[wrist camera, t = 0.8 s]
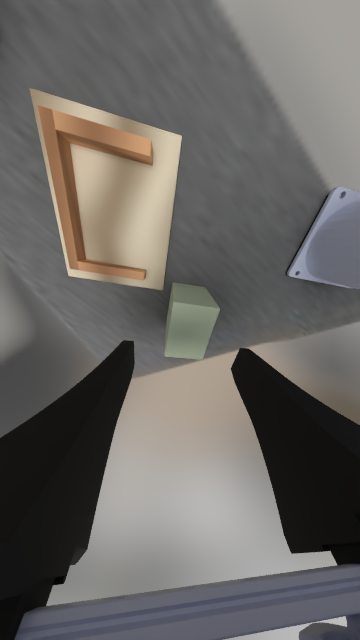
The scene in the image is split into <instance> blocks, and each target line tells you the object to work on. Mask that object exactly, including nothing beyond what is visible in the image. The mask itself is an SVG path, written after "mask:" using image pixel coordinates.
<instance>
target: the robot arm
mask: <svg viewBox="0 0 360 640" xmlns="http://www.w3.org/2000/svg"><path fill="white" fill-rule="evenodd" d="M340 194H341V197H340ZM296 272H297V273H296ZM295 273H296V274H295ZM287 275H288V276H290V277H294V278H299V279H305V280H310V281H315V282H320V283H325V284H331V285H336V286H341V287H346V288H355V289H359V290H360V192H358V191H355V190H352V189H348V188H345V187H342V186H340V187H336V188H334V189H333V190H332V191H331V192H330V194H329V196H328V198H327V200H326V201H325V203H324V205H323V207H322V209H321V211H320V213H319V214H318V216H317V218H316V220H315V222H314V224H313V225H312V227H311V229H310V231H309V233H308V235H307V237H306V238H305V240H304V242H303V244H302V246H301V248H300V250H299V251H298V253H297V255H296V257H295V259H294V261H293V262H292V264H291V266H290V268H289V270H288V272H287ZM134 364H135V362H134V341H126V340H124V341H122V342H121V343H120V344H119V345H118V347H117V348H116V349H115V350H114V351H113V352H112V353H111V354H110V355H109V356H108V357H107V358H106V359H105V360H104V361H103V362H101V364H100V365H98V367H96V368H95V369H94V370H93V371H92V372H91V373H89V374H88V375H87V376H86V377H85V378H84V379H83V380H81V381H80V382H79V383H78V384H77V385H75V386H74V387H73V388H71V389H70V390H69V391H68V392H66V393H65V394H64V395H63V396H61V397H60V398H58V399H57V400H56V401H54V402H53V403H52V404H50V405H49V406H47V407H46V408H45V409H43V410H42V411H40V412H39V413H38V414H36V415H35V416H33V417H32V418H30V419H29V420H27V421H26V422H24V423H23V424H21V425H20V426H18V427H17V428H15V429H14V430H12V431H11V432H9V433H7V434H6V435H4V436H3V437H1V438H0V640H222V639H227V638H232V637H238V636H243V635H249V634H253V633H259V632H264V631H269V630H275V629H280V628H285V627H290V626H296V625H301V624H306V623H311V622H316V621H322V620H327V619H332V618H338V617H343V616H346V619H347V627H345V626H340V625H335V624H329V623H313V624H310V625H309V626H308V627H306V628H305V629H303V630H302V631H300V632H299V640H360V425H358V424H356V423H355V422H353V421H351V420H350V419H348V418H346V417H344V416H343V415H341V414H339V413H337V412H336V411H334V410H333V409H331V408H330V407H328V406H326V405H325V404H323V403H322V402H320V401H319V400H317V399H315V398H314V397H312V396H311V395H310V394H308V393H307V392H305V391H304V390H302V389H301V388H299V387H298V386H297V385H295V384H294V383H292V382H291V381H290V380H288V379H287V378H285V377H284V376H283V375H282V374H281V373H279V372H278V371H277V370H275V369H274V368H273V367H272V366H270V365H269V364H268V363H267V362H265V361H264V360H263V359H262V358H260V357H259V356H258V355H256V354H255V353H254V352H252V351H251V350H250V349H246V348H240V350H239V352H238V354H237V356H236V358H235V361H234V363H233V365H232V367H231V371H232V374H233V378H234V381H235V384H236V386H237V389H238V391H239V393H240V396H241V398H242V400H243V402H244V405H245V407H246V409H247V411H248V414H249V416H250V418H251V421H252V423H253V426H254V429H255V432H256V435H257V437H258V440H259V443H260V447H261V450H262V453H263V456H264V460H265V463H266V466H267V469H268V473H269V477H270V480H271V484H272V488H273V491H274V495H275V499H276V503H277V507H278V511H279V515H280V519H281V524H282V528H283V533H284V536H285V539H286V541H287V544H288V546H289V549H290V551H291V553H292V554H293V553H308V552H323V551H331V553H332V555H333V557H334V559H335V561H336V563H337V566H330V567H323V568H316V569H309V570H301V571H294V572H287V573H280V574H273V575H266V576H259V577H251V578H244V579H237V580H230V581H223V582H216V583H209V584H201V585H195V586H187V587H180V588H173V589H166V590H159V591H152V592H144V593H138V594H130V595H123V596H116V597H109V598H102V599H94V600H87V601H81V602H74V603H67V604H59V605H51V606H46V604H47V601H48V598H49V595H50V592H51V589H52V586H53V585H58V584H64V582H65V579H66V576H67V573H68V570H69V566H70V565H75V564H76V563H77V562H78V561H79V560H80V558H81V557H82V556H83V554H84V553H85V552H86V550H87V548H88V543H89V538H90V534H91V529H92V524H93V520H94V515H95V511H96V506H97V501H98V497H99V493H100V489H101V484H102V480H103V476H104V471H105V467H106V463H107V459H108V455H109V450H110V446H111V442H112V438H113V434H114V430H115V427H116V423H117V420H118V417H119V414H120V411H121V408H122V405H123V402H124V399H125V396H126V393H127V390H128V387H129V384H130V381H131V378H132V373H133V369H134Z"/></svg>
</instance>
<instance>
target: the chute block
mask: <svg viewBox="0 0 360 640" xmlns="http://www.w3.org/2000/svg"><path fill="white" fill-rule="evenodd" d="M219 311H220V308H219V306H218V305H217V303H216V302H215V300H214V299H213V298H212V296H211V295H210V293H209V292H208V291H207V289H206V288H205V287H200V286H194V285H188V284H182V283H175V282H172V289H171V295H170V302H169V308H168V315H167V321H166V333H165V353H164V356H167V357H179V358H190V359H201V360H202V359H203V356H204V353H205V350H206V347H207V345H208V342H209V339H210V336H211V333H212V331H213V328H214V325H215V322H216V319H217V317H218V314H219Z"/></svg>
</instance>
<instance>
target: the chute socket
mask: <svg viewBox="0 0 360 640" xmlns="http://www.w3.org/2000/svg"><path fill="white" fill-rule="evenodd" d="M30 92H31V97H32V102H33V107H34V112H35V117H36V121H37V126H38V131H39V136H40V141H41V145H42V150H43V155H44V160H45V165H46V170H47V174H48V179H49V184H50V189H51V194H52V198H53V203H54V208H55V213H56V218H57V223H58V227H59V232H60V237H61V242H62V247H63V251H64V256H65V261H66V266H67V271H68V276H73V277H79V278H86V279H92V280H99V281H105V282H112V283H118V284H125V285H131V286H138V287H144V288H151V289H157V290H163V285H164V277H165V268H166V260H167V252H168V244H169V236H170V228H171V220H172V212H173V204H174V196H175V188H176V180H177V172H178V164H179V155H180V147H181V139H182V136H180V135H177V134H174V133H171V132H167V131H164V130H161V129H158V128H155V127H152V126H149V125H145V124H142V123H139V122H136V121H133V120H130V119H126V118H123V117H120V116H117V115H114V114H111V113H108V112H104V111H101V110H98V109H95V108H92V107H89V106H85V105H82V104H79V103H76V102H73V101H70V100H67V99H63V98H60V97H57V96H54V95H51V94H48V93H44V92H41V91H38V90H35V89H32V88H30Z"/></svg>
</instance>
